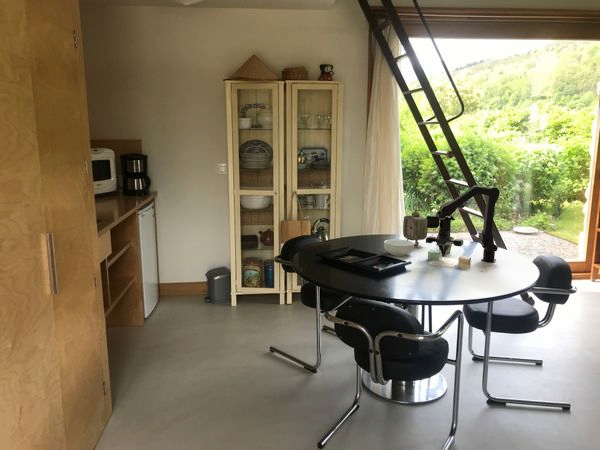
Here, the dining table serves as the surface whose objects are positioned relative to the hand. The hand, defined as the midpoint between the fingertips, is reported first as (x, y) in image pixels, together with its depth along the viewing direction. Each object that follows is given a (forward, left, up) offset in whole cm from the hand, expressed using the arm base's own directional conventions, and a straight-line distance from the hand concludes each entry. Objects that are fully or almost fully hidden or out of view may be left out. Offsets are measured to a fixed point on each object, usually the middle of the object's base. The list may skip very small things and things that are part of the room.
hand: (443, 256), depth 258 cm
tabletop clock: (-28, -25, -2) cm, 38 cm away
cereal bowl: (+1, -25, -2) cm, 25 cm away
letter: (+3, +2, -2) cm, 4 cm away
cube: (+8, +13, -2) cm, 15 cm away
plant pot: (-18, -4, -2) cm, 19 cm away
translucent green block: (0, -5, -2) cm, 5 cm away
